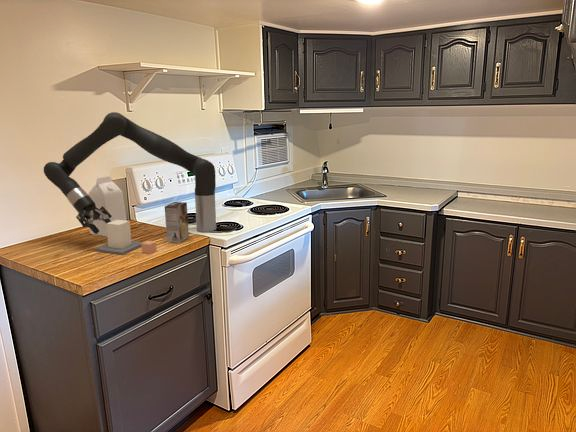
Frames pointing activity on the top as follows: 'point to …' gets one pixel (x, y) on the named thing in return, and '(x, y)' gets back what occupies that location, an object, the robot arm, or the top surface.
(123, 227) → the white rectangular block
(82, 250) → the top surface
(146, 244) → the block
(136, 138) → the robot arm
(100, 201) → the milk
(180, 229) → the coffee box
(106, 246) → the mat
